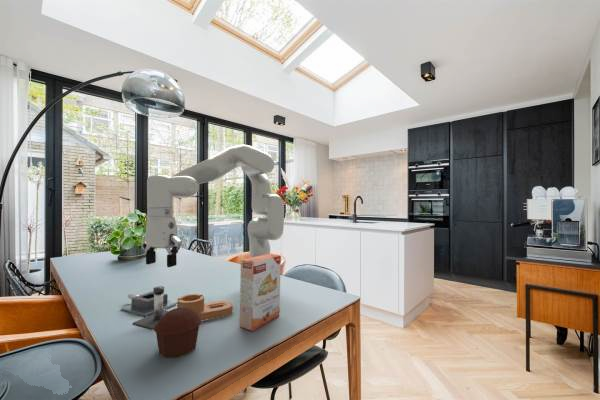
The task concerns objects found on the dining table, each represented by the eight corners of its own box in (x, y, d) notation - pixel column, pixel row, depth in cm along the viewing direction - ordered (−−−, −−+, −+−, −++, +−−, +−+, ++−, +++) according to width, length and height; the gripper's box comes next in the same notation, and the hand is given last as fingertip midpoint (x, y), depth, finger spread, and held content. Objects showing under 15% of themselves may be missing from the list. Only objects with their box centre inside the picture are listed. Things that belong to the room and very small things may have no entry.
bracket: (178, 326, 83) (179, 304, 83) (175, 316, 90) (176, 296, 90) (235, 314, 92) (235, 294, 92) (228, 306, 99) (228, 288, 99)
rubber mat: (182, 315, 90) (182, 314, 90) (152, 329, 80) (152, 328, 80) (163, 311, 94) (163, 310, 94) (132, 323, 84) (132, 322, 84)
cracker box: (253, 332, 79) (254, 261, 80) (238, 327, 82) (239, 259, 83) (281, 316, 91) (281, 254, 91) (267, 312, 94) (267, 252, 95)
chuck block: (177, 304, 100) (177, 293, 100) (147, 316, 89) (148, 304, 89) (144, 297, 107) (144, 287, 107) (113, 308, 96) (113, 296, 96)
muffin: (167, 337, 76) (168, 302, 76) (206, 337, 76) (207, 302, 76) (144, 362, 64) (144, 320, 64) (190, 362, 64) (191, 320, 64)
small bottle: (165, 317, 88) (166, 287, 88) (157, 321, 85) (158, 289, 85) (159, 315, 89) (159, 285, 89) (150, 319, 86) (151, 288, 86)
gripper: (189, 212, 88) (189, 264, 88) (152, 212, 95) (153, 260, 95) (169, 214, 81) (170, 270, 81) (131, 213, 88) (132, 265, 88)
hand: (161, 264), depth 88 cm, fingers open, 9 cm apart
